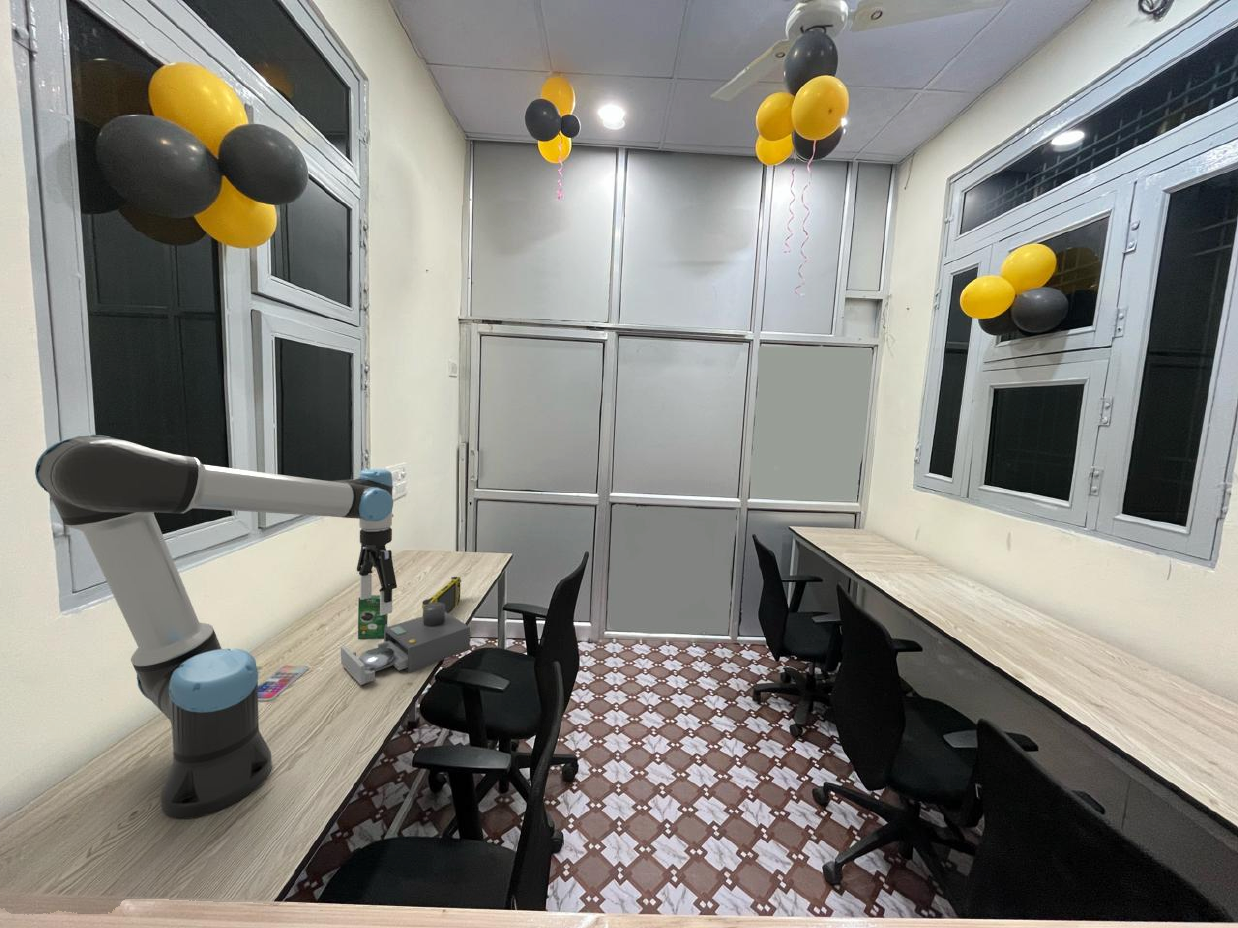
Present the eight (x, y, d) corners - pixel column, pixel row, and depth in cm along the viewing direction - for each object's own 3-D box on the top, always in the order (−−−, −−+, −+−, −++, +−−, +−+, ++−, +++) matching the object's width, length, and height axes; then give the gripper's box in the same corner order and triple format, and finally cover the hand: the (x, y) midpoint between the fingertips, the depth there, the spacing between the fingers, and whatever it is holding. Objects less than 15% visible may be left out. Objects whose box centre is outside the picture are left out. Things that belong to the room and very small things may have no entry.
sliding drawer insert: (360, 685, 112) (360, 666, 112) (341, 663, 122) (340, 646, 121) (428, 659, 126) (428, 643, 125) (406, 641, 135) (406, 626, 134)
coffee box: (388, 634, 141) (388, 594, 140) (385, 638, 138) (385, 597, 137) (361, 635, 140) (361, 594, 139) (357, 639, 137) (357, 598, 136)
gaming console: (432, 632, 144) (433, 602, 143) (420, 632, 144) (420, 602, 143) (463, 601, 169) (464, 575, 168) (452, 600, 169) (452, 575, 168)
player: (409, 672, 121) (409, 630, 120) (384, 650, 131) (384, 611, 130) (469, 649, 134) (470, 610, 133) (442, 631, 145) (443, 595, 144)
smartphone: (311, 665, 121) (271, 699, 106) (311, 668, 121) (271, 703, 106) (283, 664, 121) (239, 698, 106) (283, 668, 121) (239, 702, 106)
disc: (366, 673, 116) (366, 666, 116) (354, 661, 121) (354, 654, 121) (399, 661, 122) (399, 655, 122) (386, 650, 128) (386, 644, 127)
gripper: (411, 535, 113) (410, 616, 115) (372, 518, 129) (372, 589, 131) (380, 539, 107) (379, 624, 109) (343, 521, 124) (343, 595, 125)
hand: (375, 605), depth 120 cm, fingers open, 13 cm apart
